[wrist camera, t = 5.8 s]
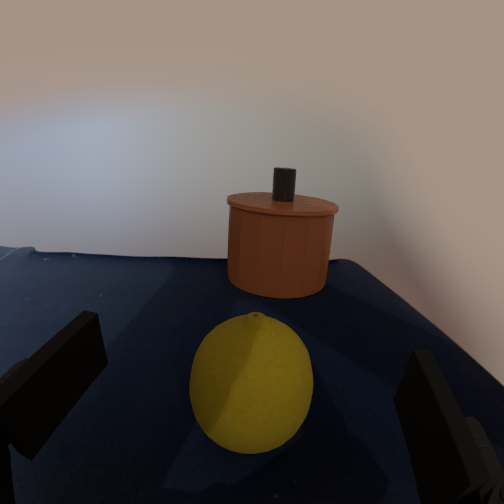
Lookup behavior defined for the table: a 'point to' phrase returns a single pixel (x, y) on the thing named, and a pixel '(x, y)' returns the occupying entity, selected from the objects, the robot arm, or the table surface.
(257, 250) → the pot
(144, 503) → the table surface
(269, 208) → the pot lid
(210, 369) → the lemon
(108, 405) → the table surface
